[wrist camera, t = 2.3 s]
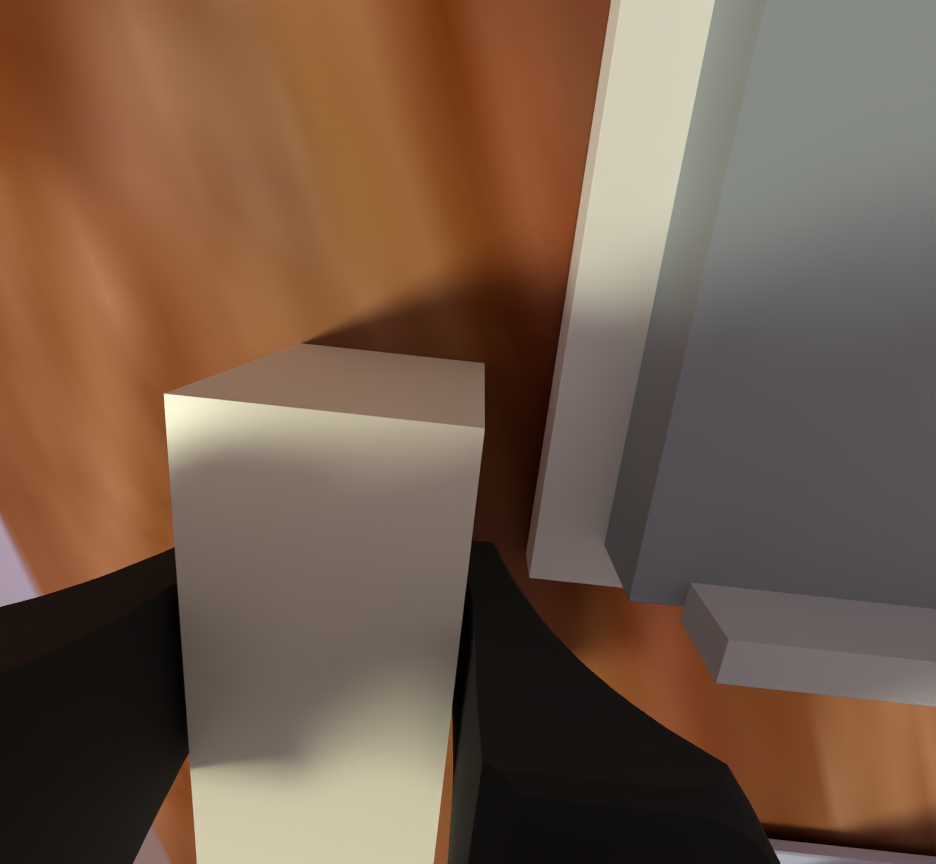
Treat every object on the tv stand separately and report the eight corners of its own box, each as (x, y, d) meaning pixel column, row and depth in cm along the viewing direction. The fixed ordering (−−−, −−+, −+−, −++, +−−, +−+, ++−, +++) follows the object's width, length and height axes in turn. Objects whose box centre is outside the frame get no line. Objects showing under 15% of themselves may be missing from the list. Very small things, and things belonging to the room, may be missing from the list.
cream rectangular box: (446, 695, 14) (426, 918, 9) (298, 680, 14) (199, 894, 9) (484, 363, 11) (484, 428, 6) (301, 343, 11) (163, 393, 6)
